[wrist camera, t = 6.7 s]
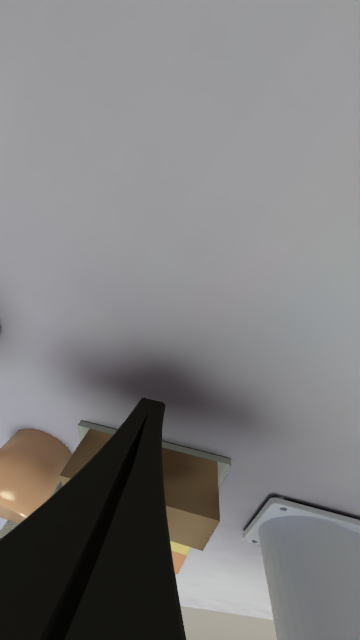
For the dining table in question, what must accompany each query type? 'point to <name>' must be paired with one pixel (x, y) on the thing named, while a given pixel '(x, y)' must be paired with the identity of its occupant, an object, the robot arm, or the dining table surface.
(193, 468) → the brown rectangular block
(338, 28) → the dining table surface
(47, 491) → the peach smooth rounded cylinder
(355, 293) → the dining table surface
